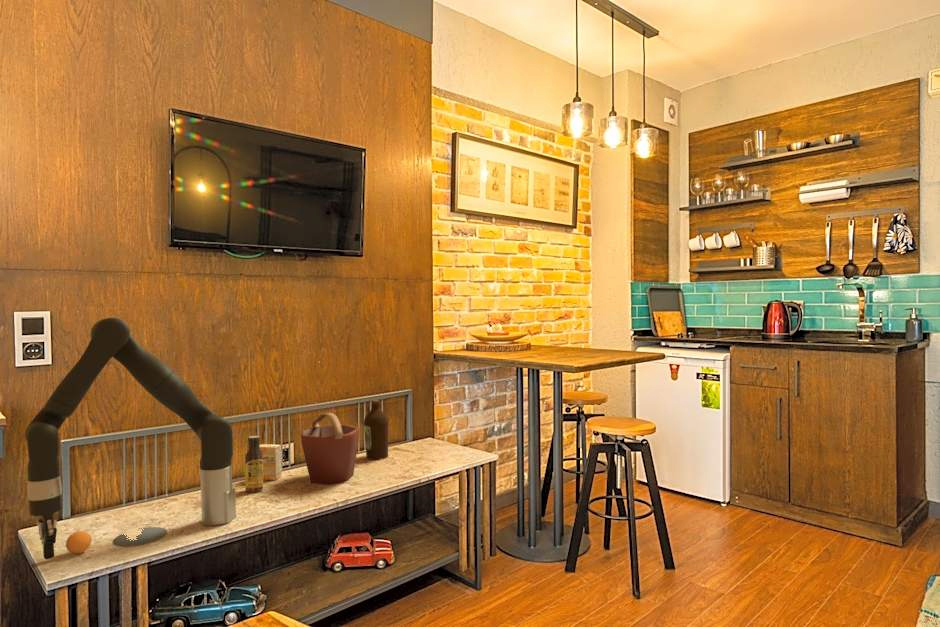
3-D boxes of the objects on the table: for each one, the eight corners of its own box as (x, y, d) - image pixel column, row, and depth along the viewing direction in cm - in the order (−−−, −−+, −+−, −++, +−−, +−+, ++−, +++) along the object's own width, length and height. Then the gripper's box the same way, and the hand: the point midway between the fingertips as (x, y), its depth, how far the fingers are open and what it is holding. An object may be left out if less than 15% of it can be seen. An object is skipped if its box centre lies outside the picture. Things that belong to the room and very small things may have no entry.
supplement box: (256, 480, 234) (255, 446, 234) (262, 476, 239) (261, 443, 238) (276, 480, 233) (275, 446, 232) (282, 476, 237) (281, 443, 237)
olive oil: (384, 452, 271) (382, 397, 270) (393, 457, 261) (391, 400, 261) (361, 456, 266) (359, 399, 265) (369, 461, 256) (367, 403, 256)
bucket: (301, 473, 242) (299, 411, 242) (356, 466, 249) (354, 406, 248) (304, 490, 219) (301, 422, 218) (365, 483, 226) (363, 416, 225)
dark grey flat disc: (175, 527, 186) (175, 526, 186) (150, 545, 172) (150, 545, 172) (131, 528, 186) (131, 527, 186) (102, 546, 172) (102, 546, 172)
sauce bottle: (248, 494, 216) (245, 439, 216) (243, 490, 221) (241, 436, 221) (266, 490, 220) (264, 436, 220) (261, 486, 225) (259, 434, 225)
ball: (96, 548, 171) (95, 527, 171) (82, 557, 165) (81, 535, 165) (76, 548, 172) (75, 527, 171) (61, 557, 166) (60, 536, 165)
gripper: (66, 496, 161) (70, 560, 161) (57, 486, 171) (60, 546, 171) (32, 503, 156) (36, 569, 156) (24, 493, 165) (28, 555, 166)
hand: (48, 557), depth 164 cm, fingers closed
